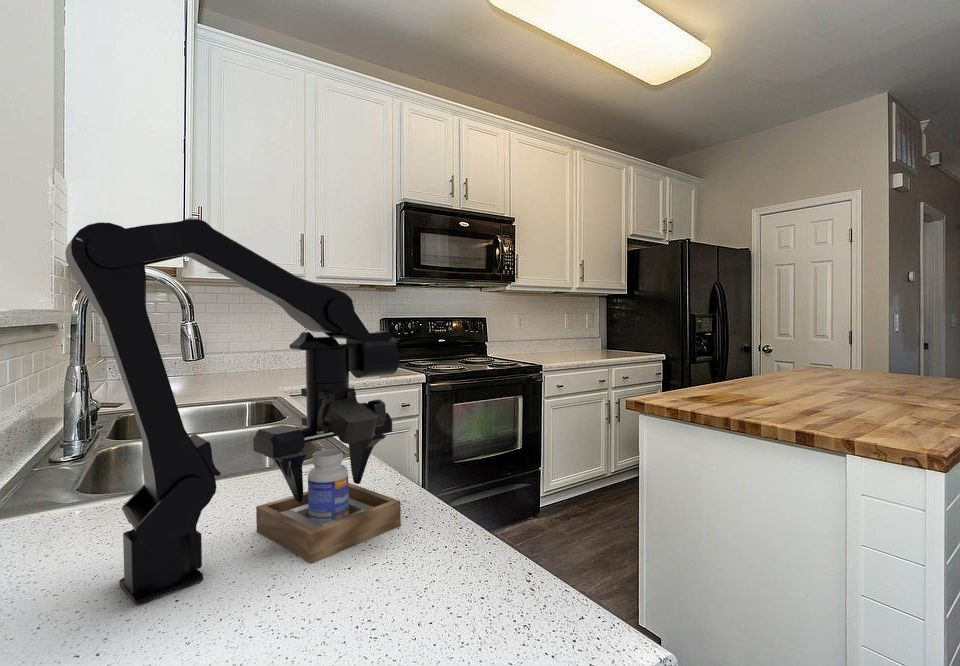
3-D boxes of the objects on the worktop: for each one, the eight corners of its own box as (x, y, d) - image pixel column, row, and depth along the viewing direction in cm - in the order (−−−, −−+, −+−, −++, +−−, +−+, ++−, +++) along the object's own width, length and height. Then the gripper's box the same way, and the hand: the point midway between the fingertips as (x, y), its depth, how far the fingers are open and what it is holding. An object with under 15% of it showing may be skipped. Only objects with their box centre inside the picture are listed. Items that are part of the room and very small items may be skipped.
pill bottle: (342, 529, 65) (340, 458, 65) (302, 529, 66) (300, 458, 65) (354, 513, 71) (352, 447, 71) (317, 513, 71) (315, 447, 71)
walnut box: (311, 563, 58) (310, 534, 58) (256, 531, 67) (256, 506, 67) (400, 525, 69) (400, 500, 69) (343, 502, 78) (342, 480, 78)
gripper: (295, 394, 55) (297, 529, 56) (416, 378, 70) (417, 486, 70) (250, 386, 63) (252, 506, 63) (368, 373, 77) (370, 471, 77)
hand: (329, 492), depth 68 cm, fingers open, 9 cm apart
